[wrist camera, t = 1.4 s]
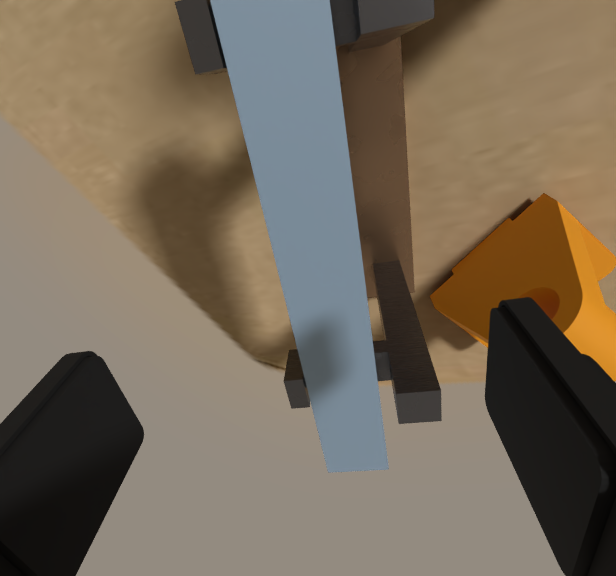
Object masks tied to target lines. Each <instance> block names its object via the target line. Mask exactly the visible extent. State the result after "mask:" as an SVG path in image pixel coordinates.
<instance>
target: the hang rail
mask: <svg viewBox="0 0 616 576" xmlns="http://www.w3.org/2000/svg"><path fill="white" fill-rule="evenodd" d="M210 2H211V6H212V10H213V14H214V18H215V22H216V26H217V30H218V34H219V38H220V42H221V46H222V50H223V54H224V58H225V62H226V66H227V70H228V74H229V78H230V82H231V86H232V90H233V94H234V98H235V102H236V106H237V110H238V114H239V118H240V122H241V126H242V130H243V134H244V138H245V142H246V146H247V150H248V154H249V158H250V162H251V166H252V170H253V174H254V178H255V182H256V186H257V190H258V194H259V198H260V202H261V206H262V210H263V214H264V217H265V221H266V225H267V229H268V233H269V237H270V241H271V245H272V249H273V253H274V257H275V261H276V265H277V269H278V273H279V277H280V281H281V285H282V289H283V293H284V297H285V301H286V305H287V309H288V313H289V317H290V321H291V325H292V329H293V333H294V337H295V341H296V345H297V349H298V353H299V357H300V361H301V365H302V369H303V373H304V377H305V381H306V385H307V389H308V393H309V397H310V401H311V405H312V409H313V413H314V417H315V421H316V425H317V429H318V433H319V437H320V441H321V445H322V449H323V453H324V457H325V461H326V465H327V469H328V472H347V471H366V470H386V469H389V468H388V459H387V451H386V443H385V436H384V429H383V420H382V412H381V404H380V396H379V388H378V380H377V372H376V364H375V356H374V348H373V340H372V332H371V324H370V316H369V309H368V301H367V293H366V285H365V277H364V269H363V261H362V253H361V245H360V237H359V229H358V221H357V213H356V205H355V198H354V190H353V182H352V174H351V166H350V158H349V150H348V142H347V134H346V126H345V118H344V110H343V102H342V94H341V87H340V79H339V71H338V63H337V55H336V47H335V39H334V31H333V23H332V15H331V7H330V0H210Z"/></svg>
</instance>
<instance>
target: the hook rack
mask: <svg viewBox="0 0 616 576" xmlns="http://www.w3.org/2000/svg"><path fill="white" fill-rule="evenodd" d="M175 5H176V8H177V12H178V15H179V19H180V22H181V26H182V29H183V33H184V36H185V40H186V43H187V47H188V50H189V54H190V57H191V60H192V64H193V67H194V71H195V74H217V73H222V72H226V71H228V70H227V66H226V62H225V58H224V54H223V50H222V46H221V42H220V38H219V34H218V30H217V26H216V22H215V18H214V14H213V10H212V6H211V2H210V0H181V1H177V2H175ZM330 7H331V15H332V23H333V31H334V39H335V47H336V55H337V63H338V71H339V79H340V87H341V94H342V102H343V110H344V118H345V126H346V134H347V142H348V150H349V158H350V166H351V174H352V182H353V190H354V198H355V205H356V213H357V221H358V229H359V237H360V245H361V253H362V261H363V269H364V277H365V285H366V293H367V298H371V297H377V299H378V305H379V311H380V317H381V323H382V328H383V334H384V340H383V341H374V342H373V348H374V356H375V364H376V372H377V380H378V381H385V380H391V381H392V387H393V393H394V398H395V404H396V410H397V416H398V422H399V424H404V423H418V422H433V421H441V389H440V386H439V383H438V380H437V377H436V373H435V370H434V367H433V364H432V361H431V358H430V355H429V352H428V348H427V345H426V342H425V339H424V336H423V333H422V330H421V327H420V323H419V320H418V317H417V314H416V311H415V308H414V305H413V302H412V298H411V295H410V293H413V292H415V291H414V272H413V254H412V236H411V217H410V199H409V181H408V162H407V144H406V125H405V107H404V89H403V70H402V52H401V36H402V35H404V34H405V33H407V32H409V31H411V30H413V29H415V28H417V27H418V26H420V25H422V24H424V23H426V22H428V21H430V20H432V19H433V18H434V0H330ZM284 383H285V387H286V391H287V394H288V398H289V401H290V405H291V408H305V407H310V397H309V393H308V389H307V385H306V381H305V377H304V373H303V369H302V365H301V361H300V357H299V353H298V349H295V350H289V354H288V359H287V365H286V371H285V377H284Z"/></svg>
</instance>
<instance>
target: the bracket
mask: <svg viewBox="0 0 616 576" xmlns="http://www.w3.org/2000/svg"><path fill="white" fill-rule="evenodd" d="M615 266H616V257H615V256H614V255H613V254H612V253H611V252H610V251H609V250H608V249H607V248H606V247H605V246H604V245H603V244H602V243H601V242H600V241H599V240H598V239H597V238H595V237H594V236H593V235H592V234H591V233H590V232H589V231H588V230H587V229H586V228H585V227H584V226H583V225H582V224H581V223H580V222H579V221H578V220H577V219H576V218H574V217H573V216H572V215H571V214H570V213H569V212H568V211H567V210H566V209H565V208H564V207H563V206H562V205H561V204H560V203H559V202H558V201H556V200H555V199H553V198H551V197H550V196H548V195H546V194H545V193H543V194H542V195H541V196H540V197H539V198H538V199H537V200H536V201H534V202H533V203H532V204H531V205H530V206H529V207H528V208H527V209H526V210H524V211H523V212H522V213H521V214H520V215H519V216H518V217H517V218H516V219H514V220H513V221H512V220H511V219H510V218H508V219H506V220H505V221H504V222H503V223H502V224H501V225H500V226H499V227H498V228H497V229H495V230H494V231H493V232H492V233H491V234H490V235H489V236H488V237H487V238H486V239H484V240H483V241H482V242H481V243H480V244H479V245H478V246H477V247H476V248H475V249H474V250H472V251H471V252H470V253H469V254H468V255H467V256H466V257H465V258H464V259H463V260H461V261H460V262H459V263H458V264H457V265H456V266H455V267H454V268H453V269H452V272H453V273H454V275H452V276H451V277H450V278H449V279H448V280H447V281H446V282H445V283H444V284H442V285H441V286H440V287H439V288H438V289H437V290H436V291H435V292H434V293H432V294H431V295H430V298H431V300H432V303H433V305H434V308H435V309H436V310H438V311H439V312H440V313H442V314H443V315H444V316H446V317H447V318H448V319H450V320H451V321H452V322H454V323H455V324H457V325H458V326H459V327H461V328H462V329H463V330H465V331H466V332H467V333H469V334H470V335H471V336H473V337H474V338H475V339H477V340H478V341H479V342H481V343H482V344H483V345H485V346H486V347H487V348H488V340H489V324H490V312H491V309H492V308H498V305H499V303H500V301H502V300H508V299H516V298H525V297H530V298H532V299H533V300H534V301H535V302H536V303H537V304H538V305H539V306H540V308H541V309H542V310H543V311H544V312H545V313H546V314H547V316H548V317H549V318H550V319H551V320H552V321H553V322H554V323H555V325H556V326H557V327H558V328H559V329H560V330H561V331H562V333H563V334H564V335H565V336H566V337H567V338H568V339H569V340H570V342H571V343H572V344H573V345H574V346H575V347H576V348H577V349H578V351H579V352H580V353H581V354H586V355H588V356H590V357H591V358H593V359H594V360H595V361H596V362H597V363H598V364H599V365H600V366H601V367H602V369H603V370H604V371H605V372H606V373H607V374H608V375H609V376H610V377H611V378H612V380H613V381H614V382H615V381H616V314H615V313H614V312H613V311H612V310H611V309H610V308H609V307H607V306H606V305H605V303H604V300H603V297H602V294H601V290H600V287H599V284H598V281H599V280H601V279H602V278H604V277H605V276H606V275H608V274H609V273H610V272H611V271H612V270H613V269H614V268H615Z"/></svg>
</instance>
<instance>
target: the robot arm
mask: <svg viewBox="0 0 616 576" xmlns="http://www.w3.org/2000/svg"><path fill="white" fill-rule="evenodd" d="M485 401H486V406H487V409H488V412H489V415H490V417H491V419H492V421H493V423H494V426H495V428H496V430H497V432H498V434H499V436H500V438H501V441H502V443H503V445H504V447H505V449H506V451H507V454H508V456H509V458H510V460H511V462H512V464H513V467H514V469H515V471H516V473H517V475H518V477H519V480H520V482H521V484H522V486H523V488H524V490H525V492H526V495H527V497H528V499H529V501H530V503H531V505H532V508H533V510H534V512H535V514H536V516H537V518H538V521H539V523H540V525H541V527H542V529H543V531H544V533H545V536H546V538H547V540H548V542H549V544H550V547H551V549H552V551H553V553H554V555H555V557H556V560H557V562H558V564H559V566H560V567H561V570H562V571H563V573H564V574H565V575H566V576H616V383H615V382H614V381H613V380H612V378H611V377H610V376H609V375H608V374H607V373H606V372H605V371H604V370H603V369H602V367H601V366H600V365H599V364H598V363H597V362H596V361H595V360H594V359H593V358H591V357H590V356H588V355H586V354H581V353H580V352H579V351H578V349H577V348H576V347H575V346H574V345H573V344H572V343H571V342H570V340H569V339H568V338H567V337H566V336H565V335H564V334H563V333H562V331H561V330H560V329H559V328H558V327H557V326H556V325H555V323H554V322H553V321H552V320H551V319H550V318H549V317H548V316H547V314H546V313H545V312H544V311H543V310H542V309H541V308H540V306H539V305H538V304H537V303H536V302H535V301H534V300H533V299H532V298H530V297H525V298H516V299H508V300H502V301H500V303H499V305H498V308H492V309H491V312H490V324H489V340H488V356H487V372H486V388H485ZM143 438H144V431H143V427H142V426H141V424H140V422H139V420H138V418H137V417H136V415H135V414H134V412H133V410H132V408H131V406H130V405H129V403H128V401H127V399H126V398H125V396H124V394H123V393H122V391H121V390H120V388H119V386H118V384H117V382H116V381H115V379H114V377H113V375H112V374H111V372H110V370H109V369H108V367H107V365H106V363H105V362H104V360H103V359H102V358H101V357H100V356H97V355H96V354H95V353H94V352H92V351H86V352H77V353H70V354H66V355H65V356H64V357H62V358H61V359H60V360H59V362H57V364H56V365H55V366H54V367H53V368H52V369H51V370H50V371H49V372H48V373H47V374H46V375H45V376H44V378H43V379H42V380H41V381H40V382H39V383H38V384H37V385H36V386H35V387H34V388H33V389H32V391H30V393H29V394H28V395H27V396H26V397H25V398H24V399H23V400H22V401H21V402H20V404H19V405H18V406H17V407H16V408H15V409H14V410H13V411H12V412H11V413H10V414H9V415H8V416H7V417H6V418H5V420H4V421H3V422H2V423H1V424H0V576H76V574H77V572H78V570H79V568H80V566H81V564H82V562H83V560H84V558H85V556H86V554H87V552H88V549H89V548H90V546H91V544H92V542H93V540H94V538H95V536H96V534H97V532H98V530H99V528H100V526H101V524H102V522H103V520H104V518H105V516H106V514H107V512H108V510H109V508H110V506H111V504H112V502H113V500H114V498H115V496H116V494H117V492H118V490H119V488H120V486H121V484H122V482H123V480H124V478H125V476H126V474H127V472H128V470H129V468H130V466H131V464H132V462H133V460H134V458H135V456H136V454H137V452H138V450H139V448H140V446H141V444H142V442H143Z"/></svg>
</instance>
